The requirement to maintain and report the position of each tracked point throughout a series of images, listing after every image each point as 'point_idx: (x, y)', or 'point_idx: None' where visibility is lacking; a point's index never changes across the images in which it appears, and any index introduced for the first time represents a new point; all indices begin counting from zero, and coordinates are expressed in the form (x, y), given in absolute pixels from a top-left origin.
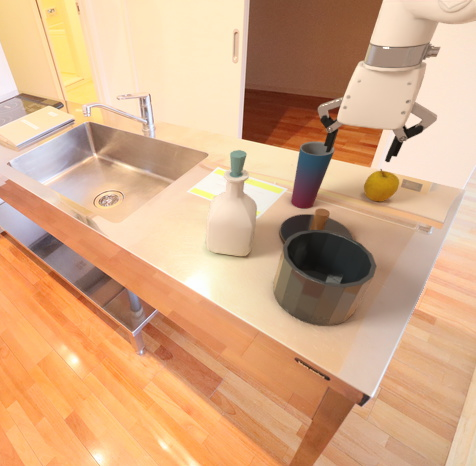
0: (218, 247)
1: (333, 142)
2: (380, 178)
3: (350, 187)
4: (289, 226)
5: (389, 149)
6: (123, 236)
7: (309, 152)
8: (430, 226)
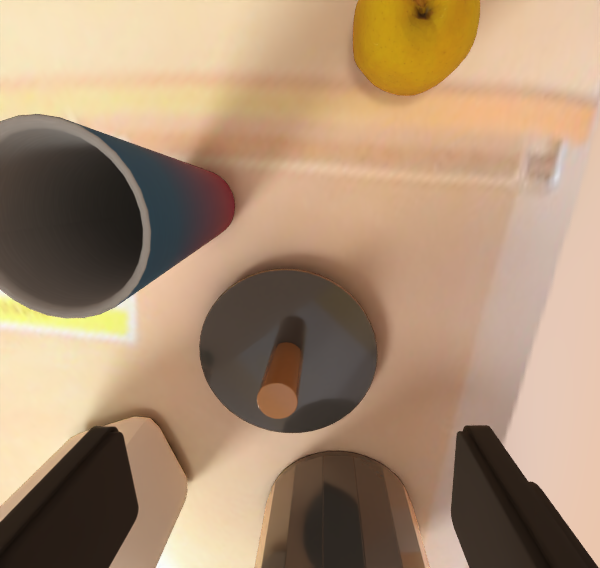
0: None
1: (97, 537)
2: (408, 49)
3: (307, 6)
4: (220, 359)
5: (481, 533)
6: None
7: (46, 157)
8: (559, 142)
